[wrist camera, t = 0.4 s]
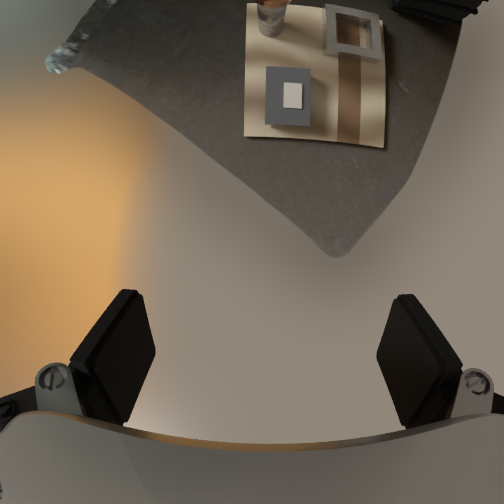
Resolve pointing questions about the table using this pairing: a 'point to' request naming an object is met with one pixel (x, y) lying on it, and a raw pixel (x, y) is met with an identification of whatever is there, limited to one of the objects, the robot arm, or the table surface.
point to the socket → (344, 50)
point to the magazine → (438, 9)
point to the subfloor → (316, 80)
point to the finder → (287, 96)
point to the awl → (271, 16)
